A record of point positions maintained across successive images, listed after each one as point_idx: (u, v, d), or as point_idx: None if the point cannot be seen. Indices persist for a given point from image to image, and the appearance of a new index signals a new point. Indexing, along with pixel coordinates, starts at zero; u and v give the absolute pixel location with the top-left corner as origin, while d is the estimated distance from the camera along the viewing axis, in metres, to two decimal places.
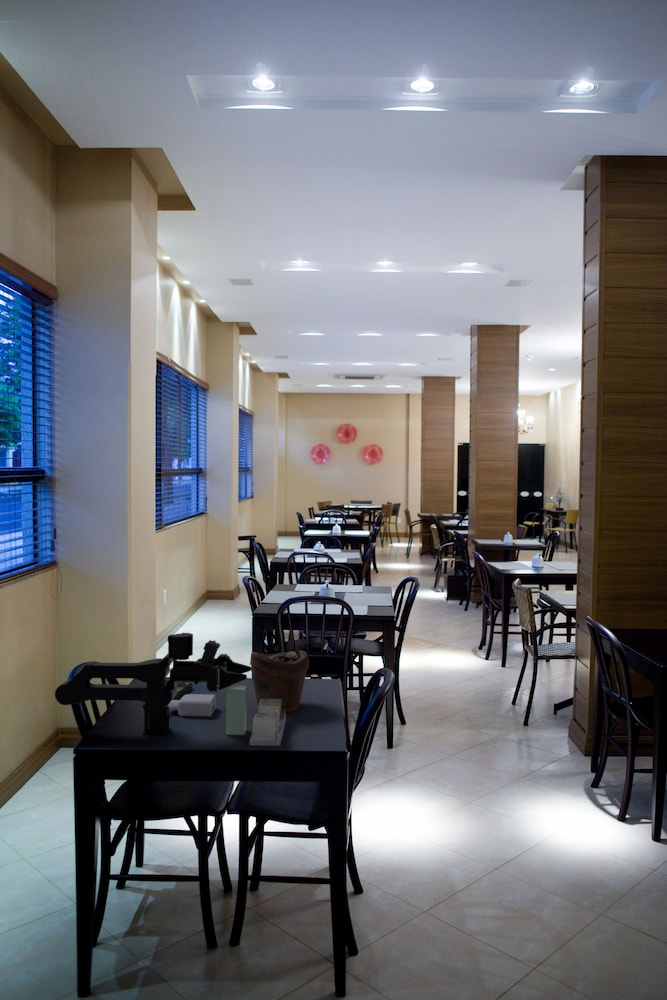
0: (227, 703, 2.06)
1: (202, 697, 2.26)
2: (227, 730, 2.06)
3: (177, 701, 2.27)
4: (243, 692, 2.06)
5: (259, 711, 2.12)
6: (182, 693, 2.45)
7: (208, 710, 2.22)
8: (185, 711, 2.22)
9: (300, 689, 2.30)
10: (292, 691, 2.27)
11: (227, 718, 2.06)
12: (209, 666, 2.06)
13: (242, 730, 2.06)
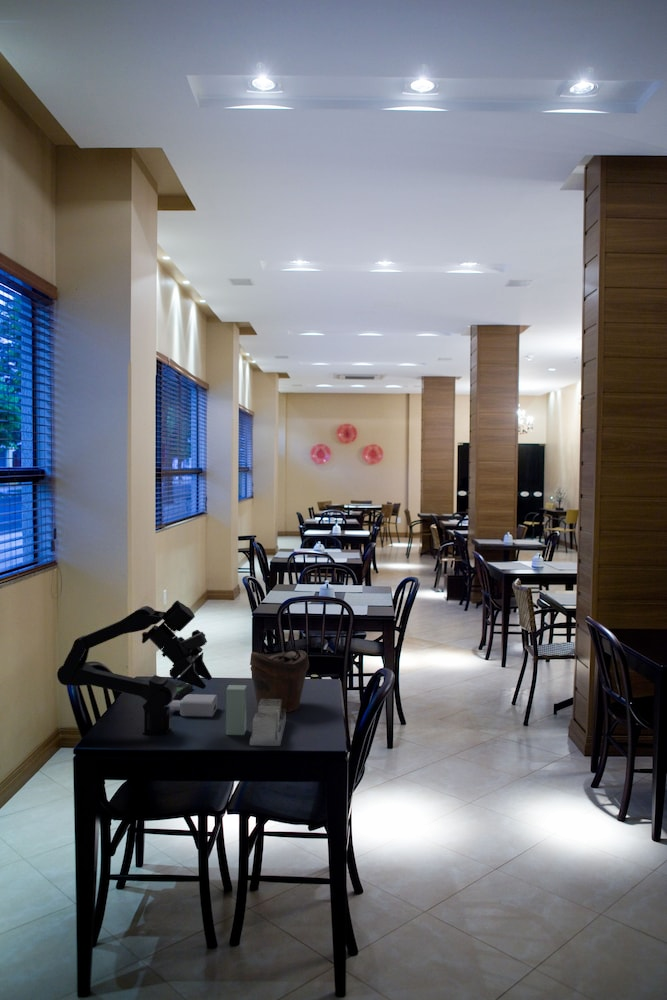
0: (227, 703, 2.06)
1: (204, 698, 2.26)
2: (227, 730, 2.06)
3: (179, 701, 2.27)
4: (243, 692, 2.06)
5: (259, 711, 2.12)
6: (182, 693, 2.45)
7: (209, 710, 2.22)
8: (186, 711, 2.22)
9: (300, 689, 2.30)
10: (292, 691, 2.27)
11: (227, 718, 2.06)
12: (185, 653, 2.06)
13: (242, 730, 2.06)
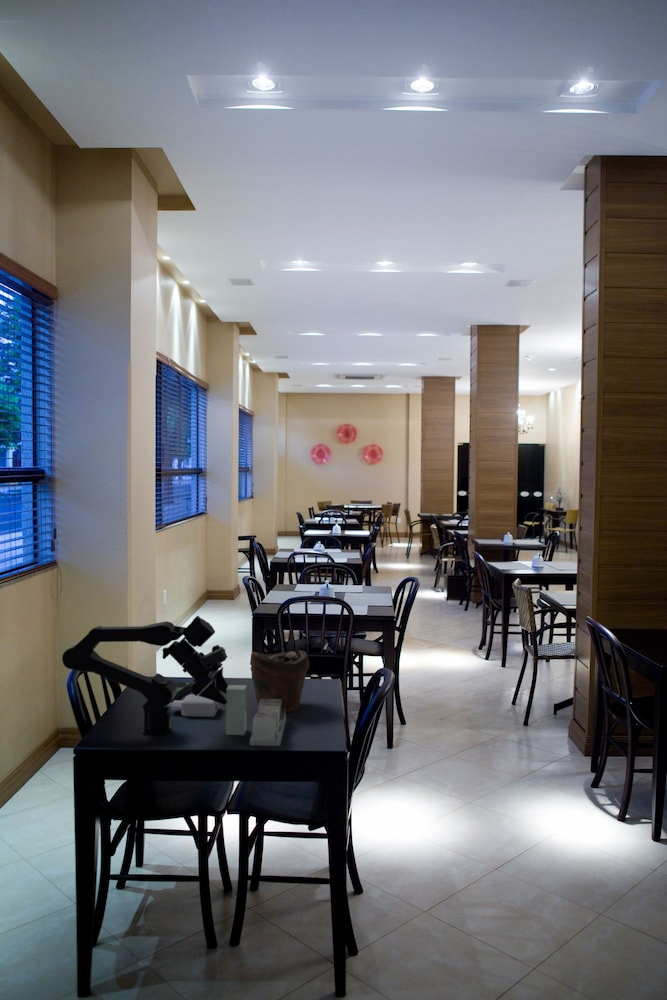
0: (227, 703, 2.06)
1: (205, 698, 2.26)
2: (227, 730, 2.06)
3: (180, 701, 2.27)
4: (243, 692, 2.06)
5: (259, 711, 2.12)
6: (182, 693, 2.45)
7: (211, 710, 2.22)
8: (188, 711, 2.22)
9: (300, 689, 2.30)
10: (292, 691, 2.27)
11: (227, 718, 2.06)
12: (205, 668, 2.06)
13: (242, 730, 2.06)
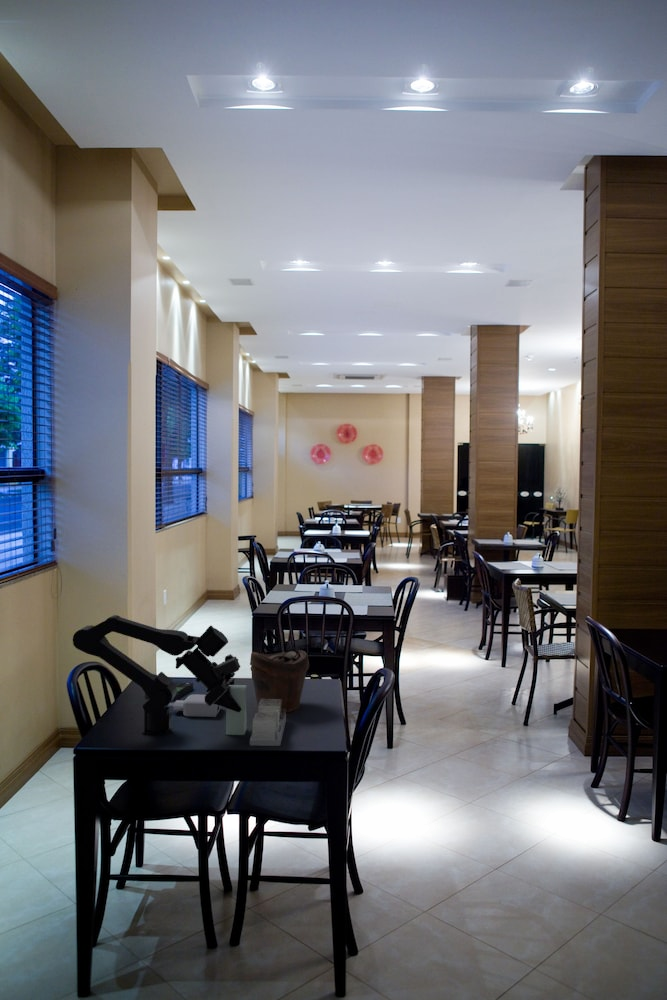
0: None
1: None
2: (227, 730, 2.06)
3: (182, 701, 2.27)
4: (243, 692, 2.06)
5: (259, 711, 2.12)
6: (181, 693, 2.44)
7: (213, 711, 2.22)
8: (190, 711, 2.22)
9: (300, 689, 2.30)
10: (292, 691, 2.27)
11: (227, 717, 2.06)
12: (219, 678, 2.06)
13: (242, 730, 2.06)
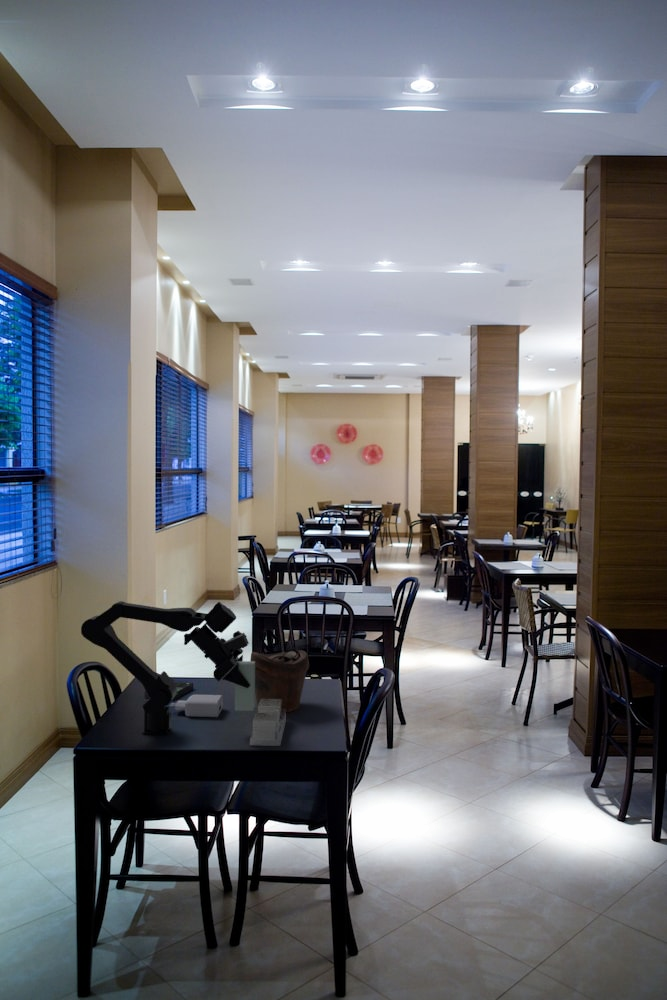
0: None
1: (209, 698, 2.26)
2: (236, 706, 2.06)
3: (184, 701, 2.26)
4: (252, 668, 2.06)
5: (259, 711, 2.12)
6: (181, 693, 2.44)
7: (215, 711, 2.22)
8: (192, 711, 2.22)
9: (300, 689, 2.30)
10: (292, 691, 2.27)
11: (236, 693, 2.06)
12: (227, 654, 2.06)
13: (251, 706, 2.06)
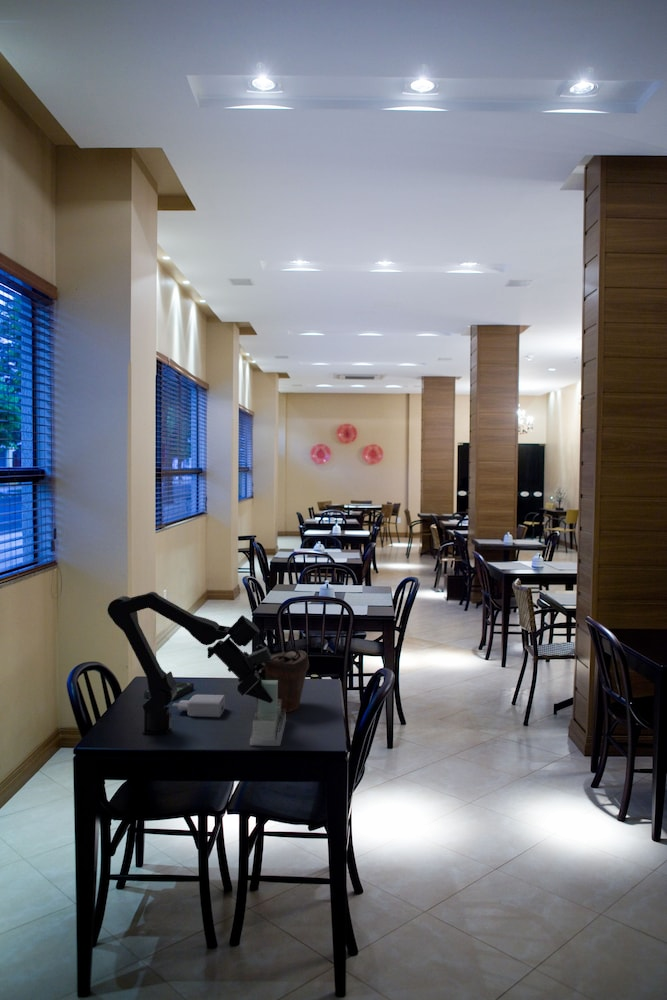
0: None
1: (211, 698, 2.26)
2: None
3: (186, 701, 2.27)
4: (275, 687, 2.06)
5: None
6: (181, 693, 2.44)
7: (217, 711, 2.22)
8: (194, 711, 2.22)
9: (300, 689, 2.30)
10: (292, 691, 2.27)
11: (259, 712, 2.06)
12: (251, 668, 2.06)
13: None
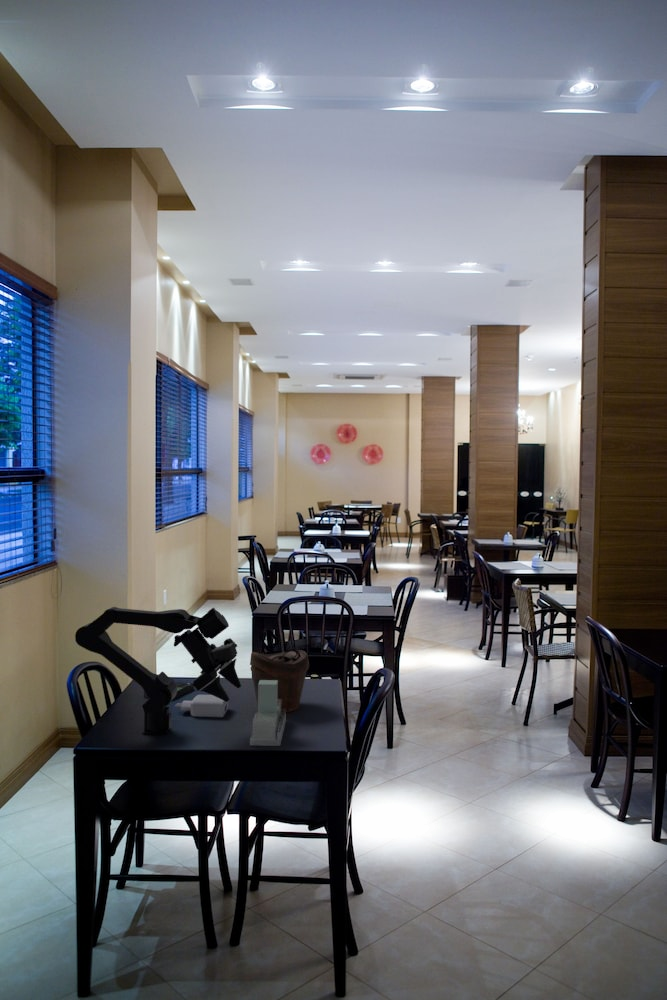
0: (259, 698, 2.06)
1: (214, 698, 2.26)
2: None
3: (189, 701, 2.26)
4: (275, 687, 2.06)
5: None
6: (180, 693, 2.44)
7: (220, 711, 2.22)
8: (197, 711, 2.22)
9: (300, 689, 2.30)
10: (292, 691, 2.27)
11: (259, 712, 2.06)
12: (212, 663, 2.05)
13: None
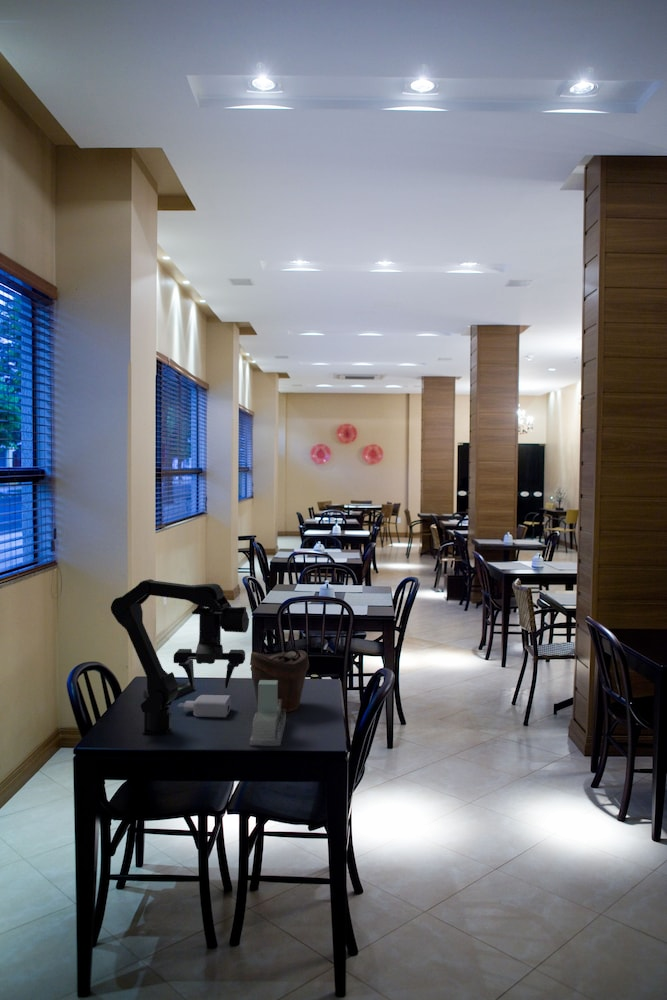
0: (259, 698, 2.06)
1: (217, 698, 2.26)
2: None
3: (192, 702, 2.26)
4: (275, 687, 2.06)
5: None
6: (180, 693, 2.44)
7: (223, 711, 2.21)
8: (200, 711, 2.22)
9: (300, 689, 2.30)
10: (292, 691, 2.27)
11: (259, 712, 2.06)
12: None
13: None
